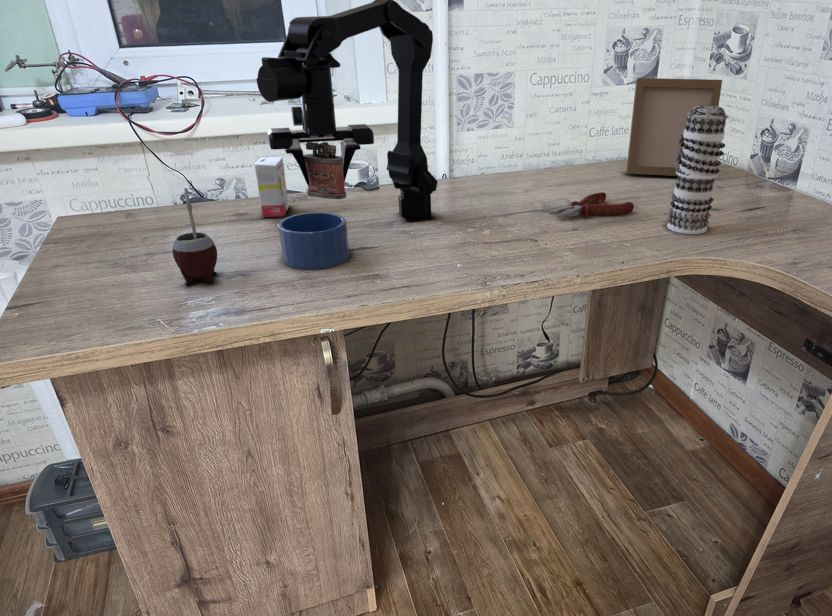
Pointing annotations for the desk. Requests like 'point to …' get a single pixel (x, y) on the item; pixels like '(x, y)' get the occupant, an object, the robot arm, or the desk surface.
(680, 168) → the decorative candle
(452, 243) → the desk surface
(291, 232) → the blue round bin
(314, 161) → the lighter
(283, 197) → the ink box
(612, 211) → the pliers
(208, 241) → the mate gourd
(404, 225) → the desk surface
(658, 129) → the photo frame
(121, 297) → the desk surface
